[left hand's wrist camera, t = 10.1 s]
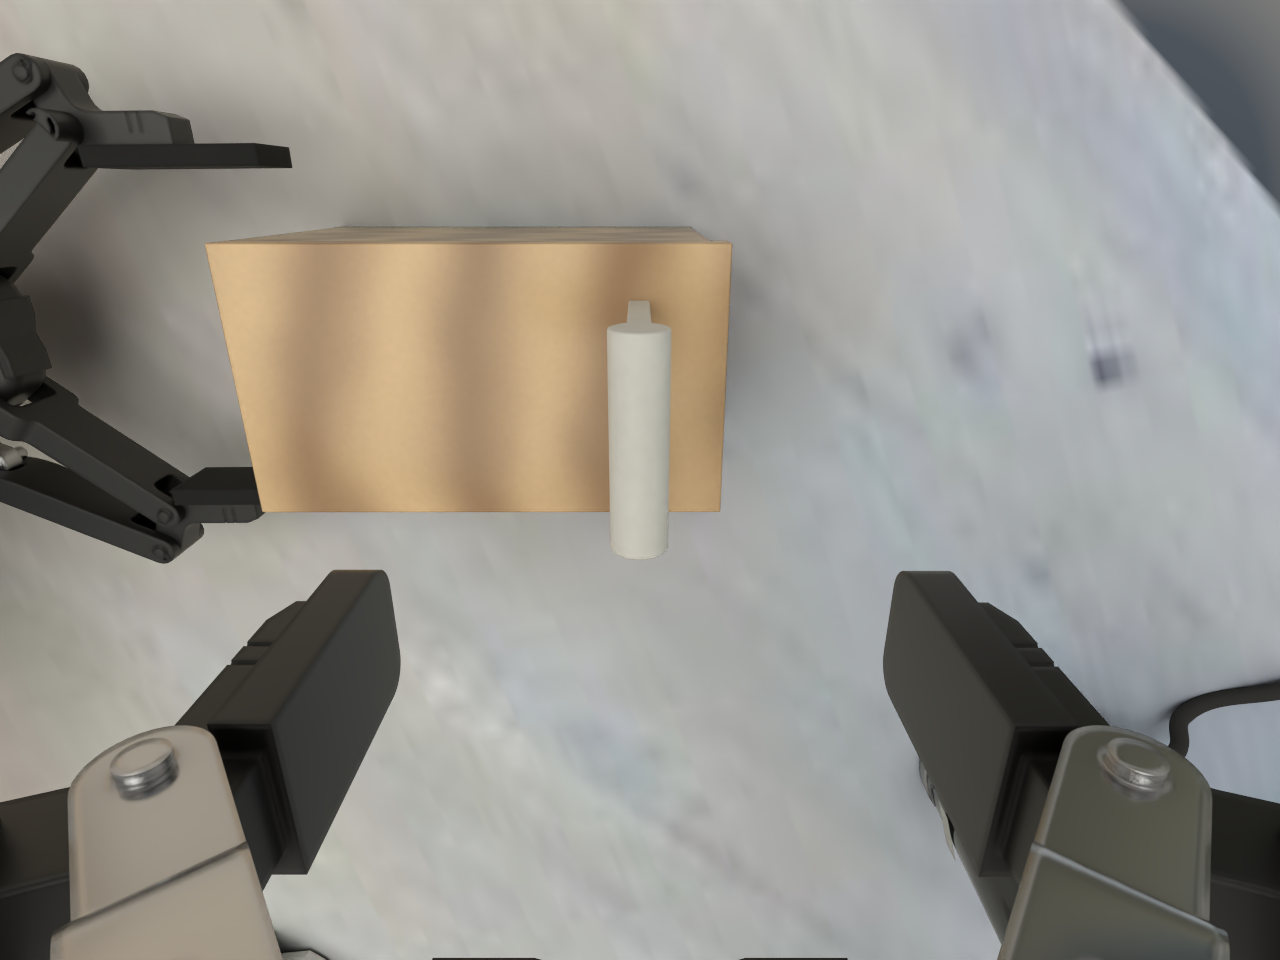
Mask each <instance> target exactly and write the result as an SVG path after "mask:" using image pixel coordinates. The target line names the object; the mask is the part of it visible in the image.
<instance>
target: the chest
mask: <svg viewBox="0 0 1280 960" xmlns="http://www.w3.org/2000/svg"><path fill="white" fill-rule="evenodd" d="M230 241H709V240H707V239H706V238H704V237H703V236H702V235H700V234H699V233H697V232H696V231H694V230H693V229H692V228H691V227H335V228H330V229H322V230H314V231H305V232H297V233H288V234H280V235H272V236H263V237H255V238H247V239H238V240H230Z"/></svg>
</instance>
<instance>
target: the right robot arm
mask: <svg viewBox="0 0 1280 960" xmlns="http://www.w3.org/2000/svg"><path fill="white" fill-rule="evenodd" d="M88 90H89V84H88V80H87V78H86V76H85V74H84V73H83V72H82V71H81V70H80V69H79V68H78V67H76V66H74V65H70V64H66V63H61V62H57V61H52V60H48V59H43V58H39V57H35V56H30V55H26V54H20V53H15V54H12V55H10V56H9V57H7V58H6V59H4V60H3V61H2V62H0V154H1V153H2V152H4V151H5V150H7V149H8V148H10V147H11V146H13V145H14V144H16V143H17V142H19V141H20V140H22V139H23V138H24V139H23V140H22V142H21V143H20V144H19V146H18V147H17V148H16V150H15V151H14V152H13V154H12V155H11V156H10V157H9V159H8V160H7V161H6V163H5V164H4V165H3V167H2V168H1V169H0V436H1V437H3V438H5V439H8V440H12V441H23V442H26V443H28V444H30V445H32V446H33V447H35V448H36V449H38V450H40V451H41V452H43V453H44V454H46V455H48V456H49V457H51V458H52V459H54V460H56V461H57V462H59V463H60V464H62V465H64V466H65V467H63V466H61V465H58V464H56V463H53V462H50V461H47V460H43V459H39V458H33V457H27V456H28V453H27V451H26V450H25V449H24V448H23V447H19V446H18V447H15V448H13V447H10V446H7V445H4V444H2V443H1V442H0V502H2V503H5V504H8V505H10V506H13V507H15V508H18V509H21V510H23V511H26V512H28V513H31V514H34V515H36V516H39V517H41V518H44V519H46V520H49V521H52V522H54V523H57V524H59V525H62V526H65V527H67V528H70V529H72V530H75V531H78V532H80V533H83V534H85V535H88V536H91V537H93V538H96V539H98V540H101V541H104V542H106V543H109V544H111V545H114V546H117V547H119V548H122V549H124V550H127V551H130V552H132V553H135V554H137V555H140V556H143V557H145V558H148V559H150V560H153V561H156V562H158V563H163V564H164V563H169V562H171V561H172V560H173V559H175V558H176V557H177V556H179V555H180V554H181V553H182V552H184V551H185V550H186V549H187V548H189V547H190V546H191V545H193V544H194V543H195V542H196V541H198V540H199V539H200V538H201V537H202V536H203V534H204V528H203V526H202V524H201V523H226V522H227V523H235V522H236V523H248V522H251V521H253V520H256V519H258V518H259V517H260V516H262V515H263V514H264V513H265V512H263V511H262V507H261V503H260V498H259V493H258V489H257V484H256V479H255V475H254V470H253V467H206V468H204V469H203V470H201V471H199V472H198V473H196V474H195V475H193V476H192V477H188V476H187V475H185V474H184V473H182V472H181V471H179V470H177V469H176V468H174V467H173V466H171V465H170V464H168V463H167V462H165V461H164V460H162V459H160V458H159V457H157V456H156V455H154V454H153V453H151V452H150V451H148V450H147V449H145V448H143V447H142V446H140V445H139V444H137V443H136V442H134V441H133V440H131V439H130V438H128V437H127V436H125V435H123V434H122V433H120V432H119V431H117V430H116V429H114V428H113V427H111V426H110V425H108V424H106V423H105V422H103V421H102V420H100V419H99V418H97V417H96V416H94V415H93V414H91V413H89V412H88V411H86V410H85V409H83V408H82V407H80V406H79V404H78V398H77V396H75V395H74V394H73V393H71V392H70V391H68V390H67V389H65V388H64V387H62V386H60V385H59V384H57V383H56V382H54V381H53V380H51V379H50V378H48V377H47V376H45V373H46V369H49V368H52V366H51V363H50V360H49V357H48V354H47V351H46V349H45V347H44V345H43V344H42V342H41V340H40V339H39V337H38V335H37V333H36V327H35V313H34V310H33V307H32V303H31V300H30V297H29V296H22V295H21V293H20V292H19V291H18V289H17V288H16V287H15V286H14V285H13V283H14V282H15V281H16V280H17V278H18V277H19V276H20V275H21V273H22V272H23V271H24V270H25V269H26V267H27V266H28V265H29V264H30V262H31V261H32V260H33V258H34V255H33V254H32V253H31V251H32V249H33V248H34V247H35V246H36V244H37V243H38V242H39V241H40V239H41V238H42V237H43V236H44V234H45V233H46V232H47V231H48V230H49V228H50V227H51V226H52V225H53V223H54V222H55V221H56V220H57V218H58V217H59V216H60V215H61V213H62V212H63V211H64V210H65V208H66V207H67V206H68V205H69V204H70V202H71V201H72V200H73V199H74V197H75V196H76V195H77V194H78V192H79V191H80V190H81V189H82V187H83V186H84V185H85V184H86V182H87V181H88V180H89V179H90V178H91V176H92V175H93V174H94V173H95V171H96V170H97V169H98V168H110V169H235V168H292V163H291V157H290V151H289V147H281V146H273V145H265V144H257V143H226V144H194V139H193V135H192V130H191V125H190V121H189V120H188V119H185V118H183V117H180V116H178V115H175V114H170V113H164V112H158V111H102V110H100V109H99V108H98V107H97V106H96V105H95V104H94V103H93V101H92V100H91V98H90V96H89V95H88ZM27 399H28V400H29V401H31V402H33V403H30V404H27V405H24V406H20V405H21V404H22V403H24V402H25V401H26V400H27ZM66 467H67V468H66Z"/></svg>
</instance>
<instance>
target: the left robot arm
mask: <svg viewBox="0 0 1280 960" xmlns="http://www.w3.org/2000/svg"><path fill="white" fill-rule="evenodd" d="M247 643H248V644H247V646H243V648H242V649H241V650H240V651H239V652H238V653H237V654H236V656H235V657H234V658H233V659H232V660H231V661H232V663H231V665H227V666H226V667H225V668H224V669H223V671H222V672H221V673H220V674H219V675H218V676H217V677H216V679H215V680H214V681H213V682H212V683H211V684H210V685H209V687H208V688H207V689H206V690H205V691H204V692H203V693H202V695H201V696H200V697H199V698H198V699H197V700H196V701H195V703H194V704H193V705H192V706H191V707H190V708H189V710H188V711H187V712H186V713H185V714H184V715H183V716H182V718H181V719H180V720H179V721H178V722H177V723H176V724H175V726H168V727H162V728H158V729H153V730H150V731H147V732H143V733H140V734H138V735H135V736H133V737H130V738H128V739H126V740H124V741H122V742H120V743H117V744H116V745H114V746H112V747H110V748H109V749H107V750H105V751H104V752H102V753H101V754H100V755H98V756H97V757H95V758H94V759H93V760H92V761H91V762H89V763H88V764H87V765H86V766H85V767H84V768H83V769H82V770H81V771H80V772H79V774H78V775H77V776H76V778H75V779H74V781H73V782H72V784H71V786H70V787H68V788H64V789H59V790H55V791H50V792H46V793H41V794H37V795H32V796H28V797H23V798H19V799H14V800H10V801H5V802H0V960H283V959H282V955H281V952H280V949H279V945H278V942H277V939H276V935H275V932H274V929H273V925H272V922H271V919H270V915H269V912H268V909H267V905H266V902H265V899H264V895H263V890H264V888H265V886H266V884H267V882H268V880H269V879H270V877H271V875H272V874H307V873H308V871H309V869H310V867H311V865H312V863H313V861H314V859H315V857H316V855H317V853H318V851H319V849H320V847H321V845H322V843H323V841H324V838H325V836H326V834H327V832H328V830H329V828H330V826H331V824H332V822H333V820H334V818H335V816H336V814H337V812H338V810H339V808H340V806H341V804H342V802H343V800H344V797H345V795H346V793H347V791H348V789H349V787H350V785H351V783H352V781H353V779H354V777H355V775H356V773H357V771H358V769H359V767H360V765H361V763H362V761H363V759H364V756H365V754H366V752H367V750H368V748H369V746H370V744H371V742H372V740H373V738H374V736H375V734H376V732H377V730H378V728H379V726H380V724H381V722H382V720H383V718H384V715H385V713H386V711H387V709H388V707H389V705H390V703H391V701H392V699H393V697H394V695H395V692H396V689H397V686H398V682H399V676H400V649H399V643H398V636H397V629H396V622H395V616H394V609H393V602H392V596H391V589H390V583H389V579H388V577H387V574H386V573H385V572H384V571H383V570H333V571H331V572H330V573H329V574H328V575H327V577H326V578H325V579H324V580H323V582H322V583H321V584H320V585H319V587H318V588H317V589H316V590H315V591H314V593H313V594H312V595H311V596H310V598H309V599H308V600H307V601H296V602H294V603H293V604H291V605H290V606H288V607H287V608H285V609H283V610H282V611H280V612H279V613H277V614H275V615H274V616H272V617H271V618H269V619H267V620H266V621H265V622H264V623H263V625H262V626H261V627H260V628H259V629H258V630H257V632H256V633H255V634H254V635H253V636H252V637H251V638H250V640H249V641H248V642H247ZM1037 644H1038V643H1037V642H1036V641H1035V640H1034V639H1033V638H1032V637H1031V636H1030V634H1029V633H1028V632H1027V631H1026V630H1025V629H1024V628H1023V626H1022V625H1021V624H1020V623H1019V622H1018V621H1017V620H1015V619H1013V618H1012V617H1010V616H1009V615H1007V614H1005V613H1004V612H1002V611H1001V610H999V609H997V608H996V607H994V606H993V605H991V604H989V603H978V602H977V601H976V599H975V598H974V597H973V596H972V595H971V593H970V592H969V591H968V590H967V588H966V587H965V586H964V585H963V584H962V582H961V581H960V580H959V579H958V578H957V576H956V575H955V574H954V573H952V572H951V571H901V572H900V573H899V574H898V575H897V577H896V580H895V583H894V589H893V595H892V602H891V609H890V615H889V622H888V629H887V635H886V642H885V648H884V656H883V671H884V679H885V685H886V689H887V692H888V695H889V697H890V699H891V701H892V703H893V705H894V707H895V709H896V711H897V713H898V715H899V717H900V719H901V721H902V723H903V725H904V727H905V729H906V731H907V733H908V735H909V737H910V739H911V742H912V744H913V746H914V748H915V750H916V752H917V754H918V756H919V758H920V776H921V780H922V783H923V785H924V787H925V789H926V791H927V793H928V795H929V798H930V799H931V801H932V802H933V804H934V806H936V808H937V810H938V812H939V814H940V816H941V819H942V821H943V826H944V831H945V836H946V841H947V844H948V846H949V849H950V851H951V853H952V855H953V857H954V859H955V856H954V851H953V846H952V842H953V844H954V847H955V849H956V851H957V853H958V855H959V857H960V859H961V861H962V863H963V865H964V867H965V869H966V871H967V874H968V876H969V878H970V880H971V882H972V884H973V886H974V888H975V890H976V892H977V894H978V896H979V899H980V901H981V903H982V905H983V907H984V909H985V911H986V913H987V915H988V917H989V919H990V921H991V924H992V926H993V928H994V930H995V932H996V934H997V936H998V938H999V940H1000V942H1001V944H1002V945H1001V949H1000V952H999V955H998V959H997V960H1280V804H1279V803H1274V802H1270V801H1265V800H1261V799H1256V798H1252V797H1247V796H1243V795H1238V794H1234V793H1229V792H1225V791H1220V790H1216V789H1212V788H1210V786H1209V784H1208V782H1207V781H1206V779H1205V778H1204V776H1203V775H1202V774H1201V772H1200V771H1199V770H1198V769H1197V768H1196V767H1195V766H1194V765H1193V764H1192V763H1191V762H1189V761H1188V760H1187V759H1186V758H1185V756H1186V754H1187V752H1188V748H1189V735H1188V724H1189V723H1190V722H1191V721H1192V720H1194V719H1195V718H1196V717H1197V716H1199V715H1201V714H1202V713H1204V712H1207V711H1209V710H1212V709H1215V708H1219V707H1224V706H1230V705H1237V704H1247V703H1257V702H1267V701H1274V700H1280V683H1275V684H1269V685H1263V686H1255V687H1245V688H1236V689H1228V690H1222V691H1217V692H1212V693H1208V694H1204V695H1201V696H1198V697H1195V698H1193V699H1190V700H1189V701H1187V702H1185V703H1184V704H1182V705H1181V706H1180V707H1179V708H1177V709H1176V710H1175V711H1174V712H1173V713H1172V715H1171V718H1170V722H1169V733H1170V744H1169V746H1166V745H1164V744H1163V743H1160V742H1158V741H1156V740H1154V739H1152V738H1150V737H1147V736H1145V735H1142V734H1140V733H1137V732H1133V731H1130V730H1127V729H1122V728H1118V727H1112V726H1110V725H1109V724H1108V723H1107V722H1106V721H1105V720H1104V718H1103V717H1102V716H1101V715H1100V714H1099V713H1098V712H1097V711H1096V709H1095V708H1094V707H1093V706H1092V705H1091V704H1090V703H1089V701H1088V700H1087V699H1086V698H1085V697H1084V696H1083V695H1082V693H1081V692H1080V691H1079V690H1078V689H1077V688H1076V687H1075V686H1074V684H1073V683H1072V682H1071V681H1070V680H1069V679H1068V678H1067V676H1066V675H1065V674H1064V673H1063V672H1062V671H1061V670H1060V668H1059V667H1054V662H1053V661H1052V659H1051V658H1050V657H1049V656H1048V655H1047V654H1046V653H1045V651H1044V650H1043V649H1042V648H1038V646H1037ZM432 960H540V959H536V958H433V959H432ZM740 960H848V959H847V958H744V959H740Z"/></svg>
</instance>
